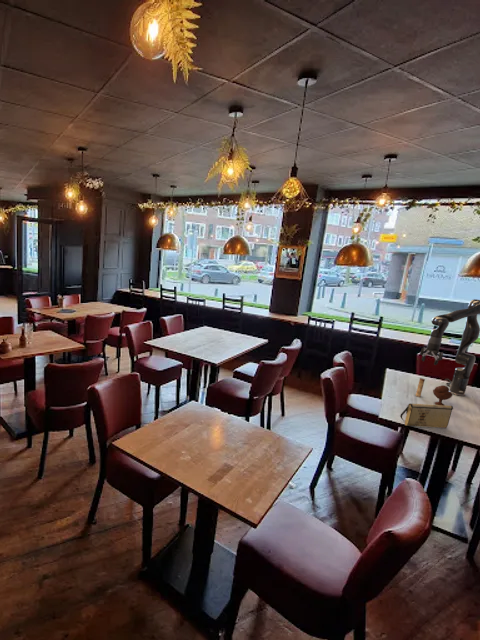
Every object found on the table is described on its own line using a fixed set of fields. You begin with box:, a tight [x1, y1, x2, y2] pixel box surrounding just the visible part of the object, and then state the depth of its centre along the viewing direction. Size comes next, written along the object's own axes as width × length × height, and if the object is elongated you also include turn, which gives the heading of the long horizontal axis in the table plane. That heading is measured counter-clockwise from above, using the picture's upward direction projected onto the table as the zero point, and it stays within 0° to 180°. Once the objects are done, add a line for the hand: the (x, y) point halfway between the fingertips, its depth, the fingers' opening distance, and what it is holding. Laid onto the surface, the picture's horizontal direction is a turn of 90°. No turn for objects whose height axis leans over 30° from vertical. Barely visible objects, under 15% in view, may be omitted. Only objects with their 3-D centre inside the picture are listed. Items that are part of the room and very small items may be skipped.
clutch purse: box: [399, 403, 454, 429], centre depth 211 cm, size 30×7×15 cm, turn 92°
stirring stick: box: [415, 377, 426, 398], centre depth 258 cm, size 3×3×14 cm
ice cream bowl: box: [432, 384, 453, 405], centre depth 245 cm, size 11×11×15 cm
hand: (429, 362), depth 261 cm, fingers open, 8 cm apart
